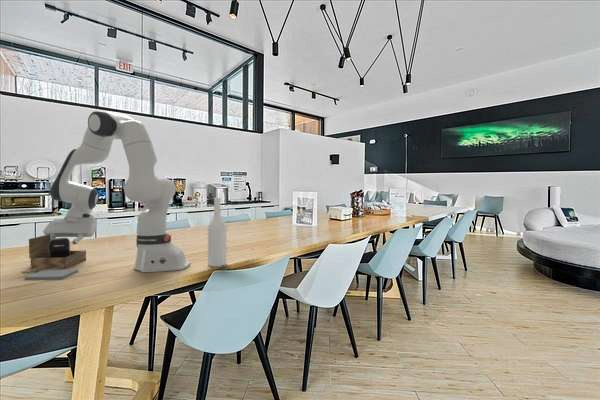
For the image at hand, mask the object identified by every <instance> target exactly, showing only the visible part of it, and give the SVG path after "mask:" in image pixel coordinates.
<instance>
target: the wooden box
mask: <svg viewBox="0 0 600 400" xmlns="http://www.w3.org/2000/svg"><path fill="white" fill-rule="evenodd" d="M50 235H51V234H49V235H45V234H44V235H40V236H36V237H32V238H28V254H29V255H28V256H29V257H28V258H29V259H30V268H27V269H25V270H22V271H21V273H36V272H39V271H42V270H67V269H68V268H70V267H73V266H75V265H78V264H80V263H82V262H84V261H87V250H85V249H84V250H77V249H76V250H73V249H72V250H71V249H70V256H68V257H65V258H51V255H50V243H49V242H50V240H51V239H50Z"/></svg>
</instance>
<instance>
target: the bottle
mask: <svg viewBox="0 0 600 400" xmlns="http://www.w3.org/2000/svg"><path fill="white" fill-rule="evenodd" d="M221 215H222V214H221V197H213V216H212V218H211V220H210V222H209V223H208V225H207V266H208V265H210V266H209V267H212V266H219V267H223V266H222V265H224V266H226V265H227V224H226V222H225V220H224V219H223V217H222V216H221ZM225 264H226V265H225Z"/></svg>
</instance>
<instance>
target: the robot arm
mask: <svg viewBox="0 0 600 400" xmlns="http://www.w3.org/2000/svg"><path fill="white" fill-rule="evenodd" d="M115 139H116V140H121V143H122V147H123V149H124V152H125V153H124V154H125V156H126V159H127V164H128V171H129V172H128V178H127V180H126V181H125V183H124V186H123V193H124V195H125V196H126V198H127V199H128V200H130V201H133V202H137V203H141V204H142V203H144V205H143V208H142V210H141V212H140V213H139V214H138V216H137V235H136V240H135V241H136V243H135V244H136V250H137V251H136V257H135V262H134V266H133V269H134V270H136V271H139V272H141V273H152V272H153V273H154V272H155V273H156V272H157V273H158V272H170V271H182V270H184V269H185V270H186V269H187V268H189V267H190V266H189V265H191V261H190V260H188V259H186V256H185V252H184V250H183V249H182V248H180V247H178V246H177V245H176V244H174V243H173V242H172V234H168V233H167V215H168V209H169V206H170V203H171V200H172V198H173V197H174V196H175V194H176V191H177V188H176V185H175V182H174V181H173V180H172V179H170V178H167V177H164V176H156V174H155V165H156V163H157V162H158V158H157V155H156V153H155V149H154V146H153V143H152V142H153V141H152V140H151V137H150V134H149V133H148V131H147V128H146V127H145V125H144V123H143V122H141V121H140V120H139V119H138V118H136V117H133V116H131V115H127V114H126V115H125V114H121V113H119V112H112V111H104V110H96V111H95V110H94V111H92V112H91V113H90V114H89V116H88V118H87V128H86V129H85V132H84V135H83V137H82V142H81V144H80V145H79V147H77V148H74V149H73V148H72V150H71V151H70V152H68V154H67V156H66V158H65V160H64V162H63V164H62V165H61V168H60V170H59V172H58V174H57V176H56V177H55V180H54V181H53V183H52V184H51V186H50V187H49V196H50V197H51V198H52V199H53V200H54V201H58V202H65V203H68V204H71V205H70V206H71V207H70V208H69V209H68V210H67V212H66V214H65V216H64V217H63V218H55V219H52V220H51V221H50V222H49V223H47V225H46V226H45V227H44V229H43V230H42V232H43V234H44V235H49V234H51V235H50V239H51V240H52V239H54V238H73V240H72V242H71V243H72V245H78V244H79V242H80V241H82V240H83V239H84V238H91V237H93V236H95V233H96V230H97V225H98V222H97V220H96V218H95V217H94V216H93V214H91V213H92V212H93V209H94V208H95V207H96V205H97V204H98V201H99V198H100V193H99V192H98V190H97V189H96V188H95V187H94V186H93V187H92V186H88V185H86V184H80V183H77V182H74V181H73V182H72V181H71V180H70V179H69V178H70V176H71V175H72V174H73V171H74V169H75V167H76V166H79V165H95V164H99V163H103V162H104V161H106V160H107V158H108V157H109V155H110V152H111V148H112V145H113V141H114V140H115ZM51 240H50V241H51ZM49 243H50V242H49ZM188 266H189V267H188Z"/></svg>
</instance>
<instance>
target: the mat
mask: <svg viewBox="0 0 600 400" xmlns="http://www.w3.org/2000/svg"><path fill="white" fill-rule="evenodd" d="M76 273H79V269H63V270H42V271H39V272H33V273H32V274H29V275H26V276H24V280H26V281H27V280H28V281H29V280H30V281H31V280H38V281H39V280H63V279H66V278H68V277H70V276H73V275H74V274H76Z"/></svg>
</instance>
